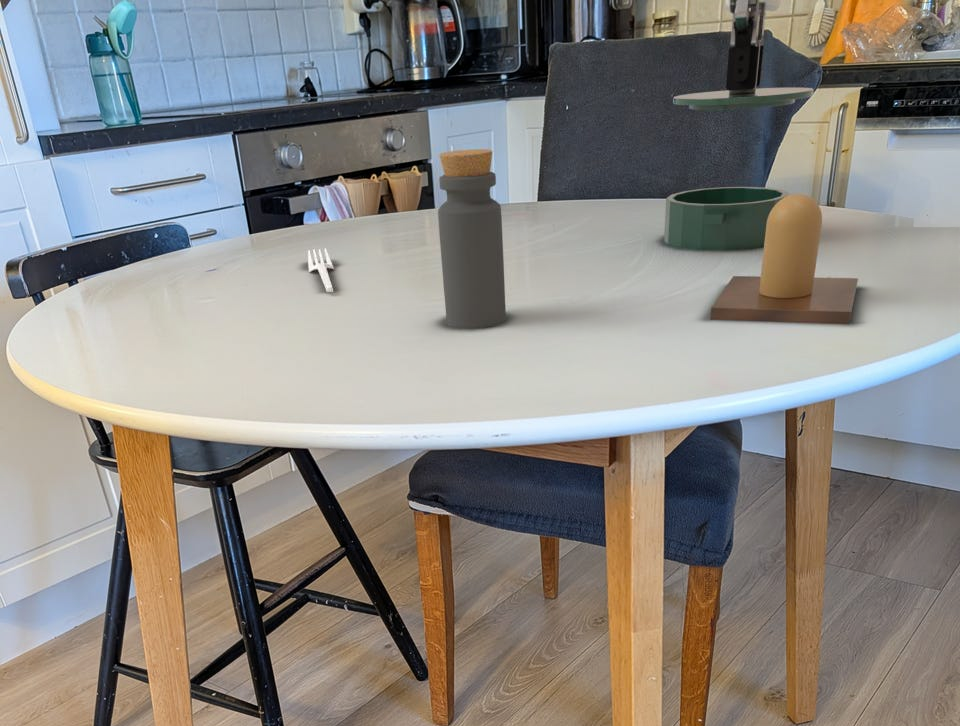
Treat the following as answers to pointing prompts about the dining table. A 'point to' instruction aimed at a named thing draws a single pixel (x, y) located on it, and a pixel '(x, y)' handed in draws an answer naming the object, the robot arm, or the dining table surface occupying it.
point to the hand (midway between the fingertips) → (742, 86)
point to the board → (786, 302)
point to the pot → (719, 217)
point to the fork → (321, 268)
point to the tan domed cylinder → (791, 247)
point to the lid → (743, 97)
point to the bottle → (471, 241)
